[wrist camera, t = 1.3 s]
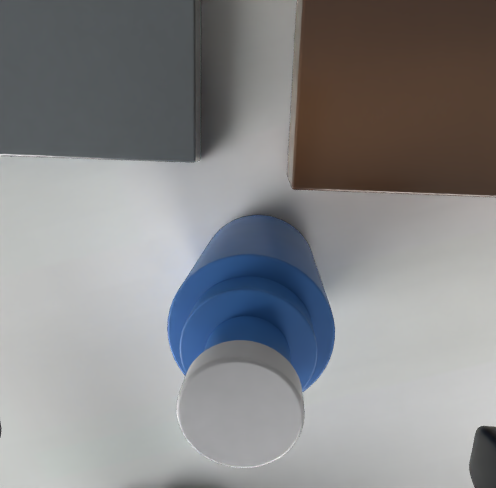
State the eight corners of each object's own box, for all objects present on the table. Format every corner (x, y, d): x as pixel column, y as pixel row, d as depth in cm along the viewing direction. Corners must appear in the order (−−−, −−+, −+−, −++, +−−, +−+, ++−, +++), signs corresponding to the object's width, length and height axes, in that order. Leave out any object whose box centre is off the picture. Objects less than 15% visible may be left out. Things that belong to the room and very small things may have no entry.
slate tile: (201, 161, 16) (195, 162, 15) (-11, 153, 16) (-33, 154, 15) (201, -102, 14) (194, -125, 12) (-45, -102, 14) (-74, -124, 13)
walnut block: (543, 186, 15) (650, 203, 11) (286, 177, 16) (291, 189, 11) (611, -122, 13) (786, -260, 8) (303, -120, 13) (316, -249, 9)
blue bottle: (310, 323, 17) (349, 521, 8) (203, 317, 18) (127, 502, 9) (318, 217, 16) (374, 313, 7) (203, 212, 16) (114, 298, 7)
